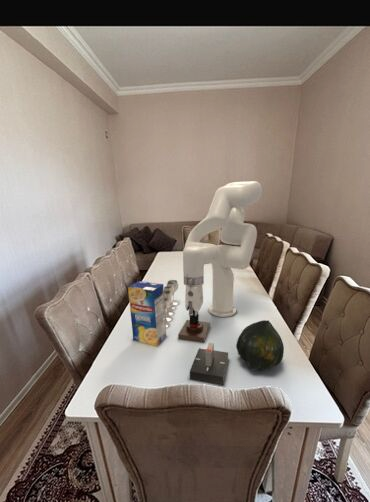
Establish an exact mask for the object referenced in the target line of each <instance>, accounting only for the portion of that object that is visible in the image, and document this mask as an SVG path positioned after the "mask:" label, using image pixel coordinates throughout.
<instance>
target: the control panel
mask: <svg viewBox="0 0 370 502" xmlns="http://www.w3.org/2000/svg"><path fill="white" fill-rule="evenodd" d="M206 350H207V348H201V347H200V348H198V350H197V352H196V355H195V356H194V359H193V362H192V363H191V364H192V365H191V367H190V369H189V380H191V381H197V382H202V383H207V384H212V385H219V386H224V384H225V377H226V374H227V368H228V362H229V352H228V351H220V350H214V358H213V362H212V365H211V366H206Z"/></svg>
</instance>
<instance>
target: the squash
mask: <svg viewBox="0 0 370 502" xmlns="http://www.w3.org/2000/svg"><path fill="white" fill-rule="evenodd" d="M235 349H236V351H237V355H238V356H239V357H240V359H241V360H242V361H243V362H245V363H247V365H248V367H249V369H251V370H253V371H256V370H263V371H264V372H265V371H269V370H270V369H272V368H273V367H277V366H278V365H279V364H280V363H282V360H283V358H284V351H285V347H284V342H283V339H282V337H281V335H280V334H279V332H278V331H277V329H276V328H275V327H274V325H273V323H271V321H270V320H265V319H264V320H260V321H256V322H253V323H251V324H249V325H247V326H246V327H244V329H242V331H241V333H240V334H239V336H238V337H237V341H236V345H235Z"/></svg>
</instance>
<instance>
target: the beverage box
mask: <svg viewBox="0 0 370 502" xmlns="http://www.w3.org/2000/svg"><path fill="white" fill-rule="evenodd" d="M164 287H165V286H164V284H163V283H157V282H149V281H141V280H138V281H136V282H134V283H132V284H130V285H128V286H127V292H128V301H129V310H130V311H129V312H130V321H131V331H132V340H133V341H136V342H139V343H144V344H148V345H152V346H156V347H158V346H159V345H160V344H161V343H162V342H163V341H164V340H165V339H166V338H167V328H166V323H167V322H165V317H166V315H165V304H164Z"/></svg>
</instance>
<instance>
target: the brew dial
mask: <svg viewBox="0 0 370 502" xmlns="http://www.w3.org/2000/svg"><path fill="white" fill-rule="evenodd" d="M206 349H207V350H206V366H211V365H212V362H213V358H214V351H215V343H214V342H208V345H207V347H206Z"/></svg>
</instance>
